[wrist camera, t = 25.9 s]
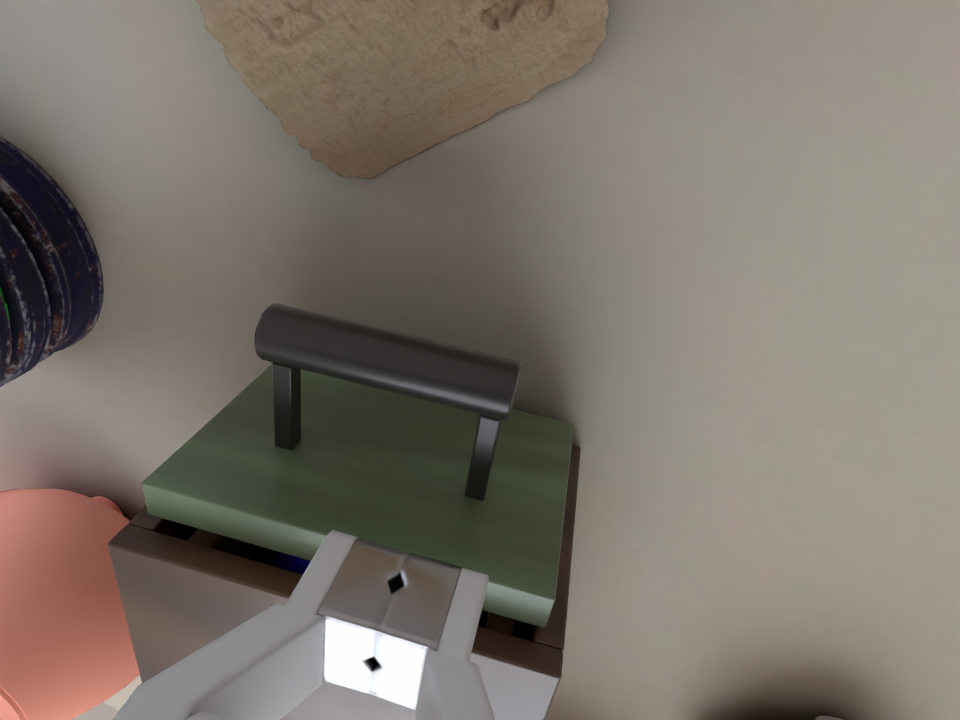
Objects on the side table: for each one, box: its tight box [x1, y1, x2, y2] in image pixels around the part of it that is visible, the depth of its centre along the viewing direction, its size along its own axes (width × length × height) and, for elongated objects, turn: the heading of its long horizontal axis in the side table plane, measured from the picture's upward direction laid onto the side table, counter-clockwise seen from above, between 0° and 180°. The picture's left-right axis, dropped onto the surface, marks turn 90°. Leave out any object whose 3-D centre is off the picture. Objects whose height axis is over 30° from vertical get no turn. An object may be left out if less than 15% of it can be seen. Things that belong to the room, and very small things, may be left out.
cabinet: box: [108, 445, 581, 720], centre depth 22 cm, size 15×13×10 cm
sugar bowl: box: [0, 488, 140, 720], centre depth 28 cm, size 12×14×10 cm
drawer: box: [142, 304, 574, 636], centre depth 20 cm, size 18×11×8 cm, turn 171°
